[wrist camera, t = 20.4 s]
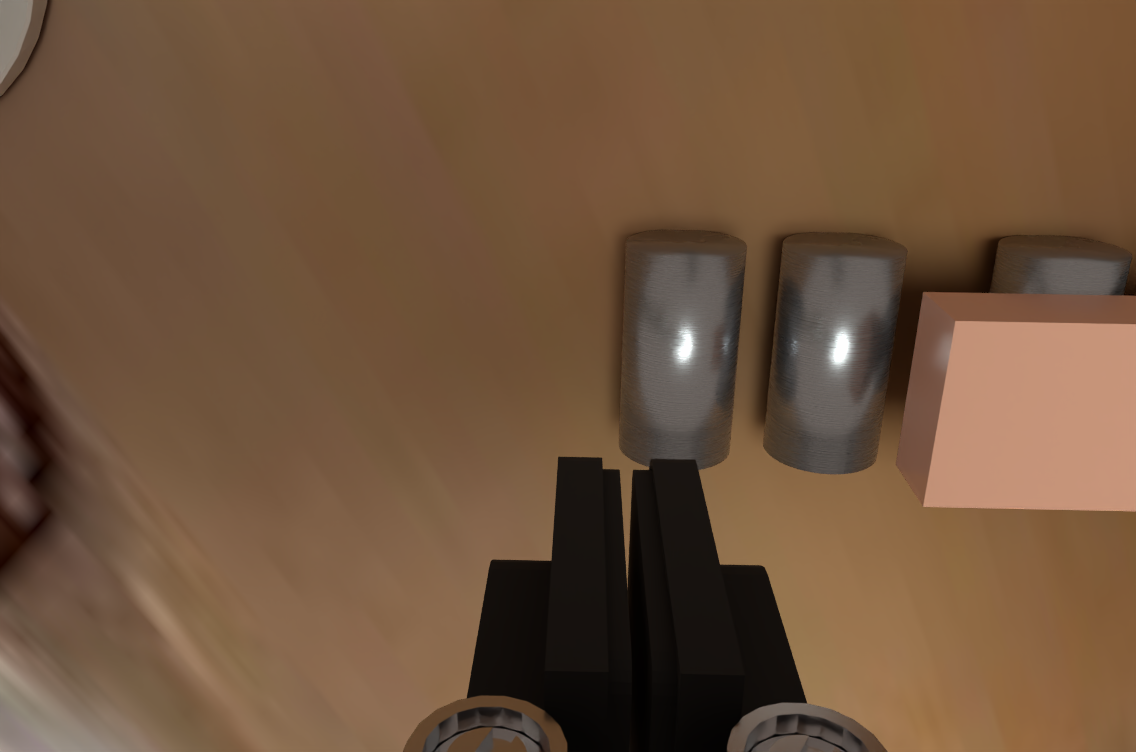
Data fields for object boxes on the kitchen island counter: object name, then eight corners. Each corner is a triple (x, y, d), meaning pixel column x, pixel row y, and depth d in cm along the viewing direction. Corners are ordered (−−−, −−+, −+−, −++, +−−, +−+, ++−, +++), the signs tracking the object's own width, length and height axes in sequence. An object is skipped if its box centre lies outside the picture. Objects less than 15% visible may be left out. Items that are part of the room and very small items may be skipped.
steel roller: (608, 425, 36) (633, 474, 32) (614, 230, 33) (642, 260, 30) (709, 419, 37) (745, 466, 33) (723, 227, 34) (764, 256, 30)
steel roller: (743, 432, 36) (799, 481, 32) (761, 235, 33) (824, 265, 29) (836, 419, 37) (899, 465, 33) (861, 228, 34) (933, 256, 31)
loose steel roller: (940, 435, 36) (1015, 484, 32) (972, 238, 33) (1059, 268, 29) (1028, 423, 37) (1110, 468, 33) (1067, 231, 34) (1161, 259, 30)
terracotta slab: (895, 464, 32) (923, 506, 29) (923, 292, 30) (955, 320, 27) (1198, 470, 32) (1252, 513, 29) (1249, 297, 29) (1312, 327, 27)
